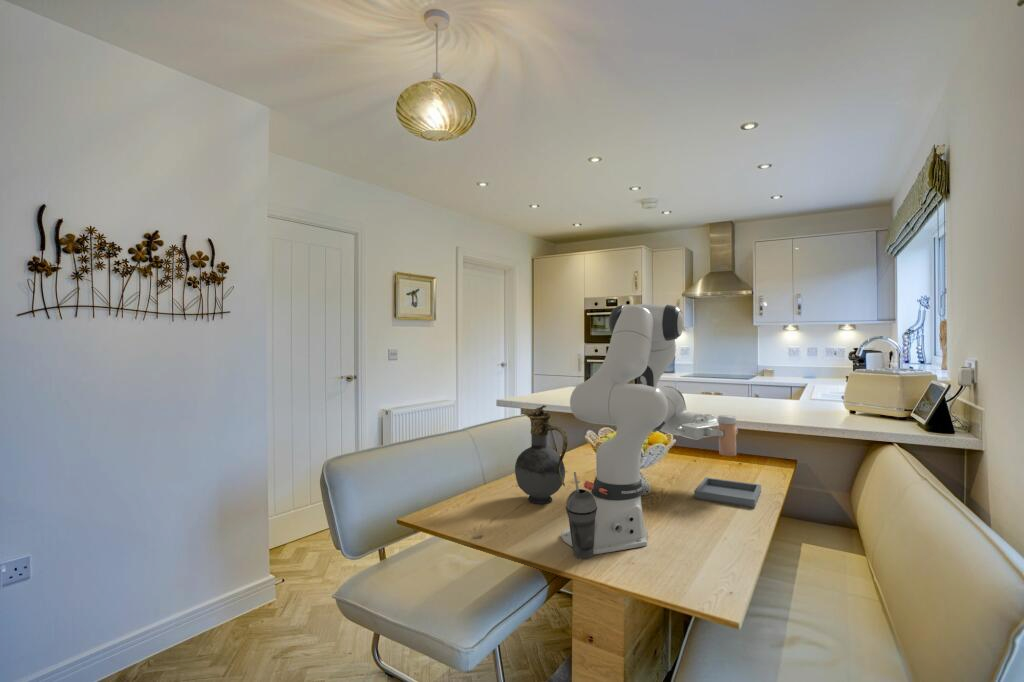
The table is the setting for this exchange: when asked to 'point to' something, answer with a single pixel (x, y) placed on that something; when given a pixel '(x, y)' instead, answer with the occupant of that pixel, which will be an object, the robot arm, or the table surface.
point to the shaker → (727, 435)
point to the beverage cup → (581, 521)
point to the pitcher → (541, 461)
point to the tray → (728, 492)
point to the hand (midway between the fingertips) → (729, 432)
